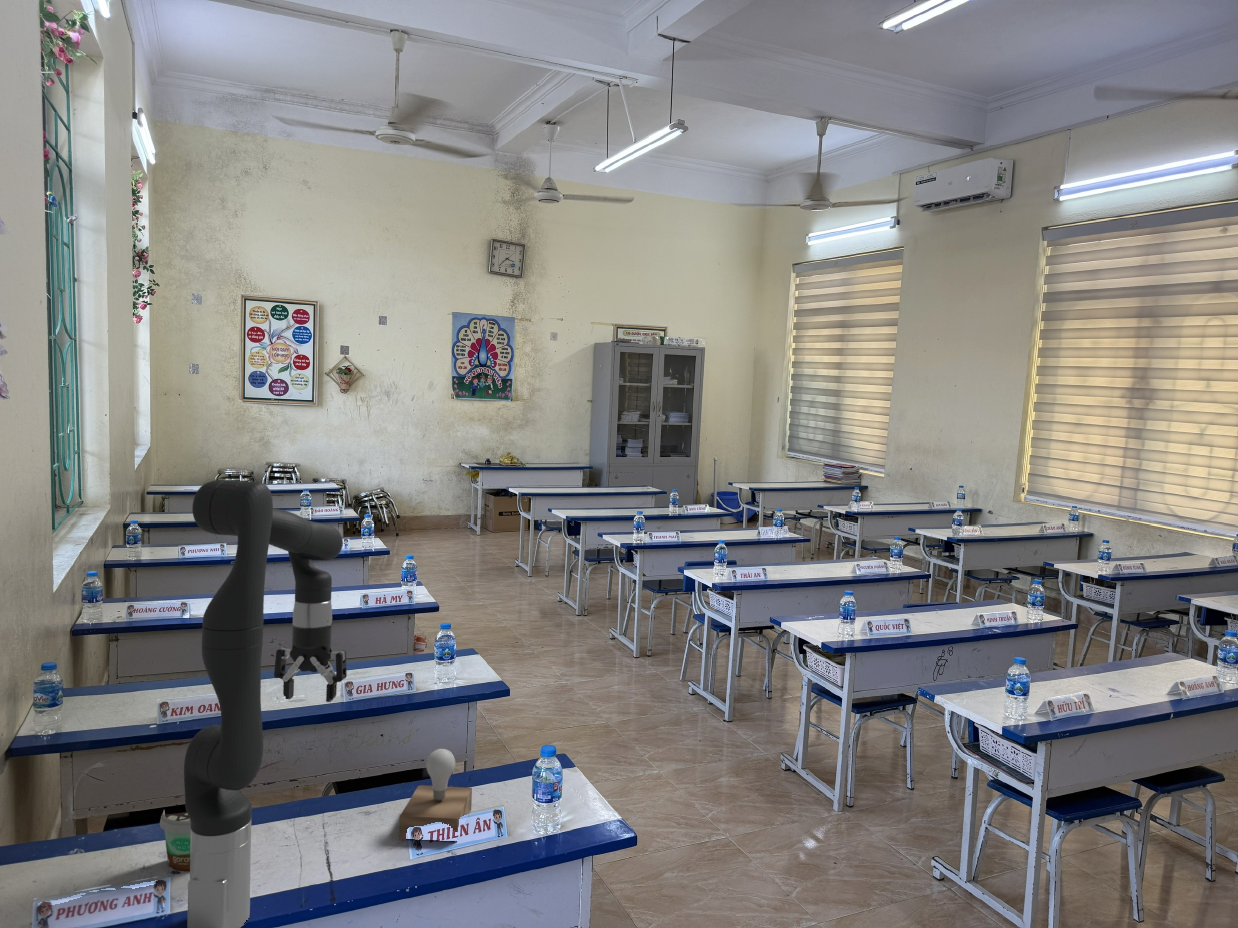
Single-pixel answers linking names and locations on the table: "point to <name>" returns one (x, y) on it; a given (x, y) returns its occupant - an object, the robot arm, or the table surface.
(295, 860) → the table surface
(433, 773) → the lightbulb
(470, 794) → the block
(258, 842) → the table surface
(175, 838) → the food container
